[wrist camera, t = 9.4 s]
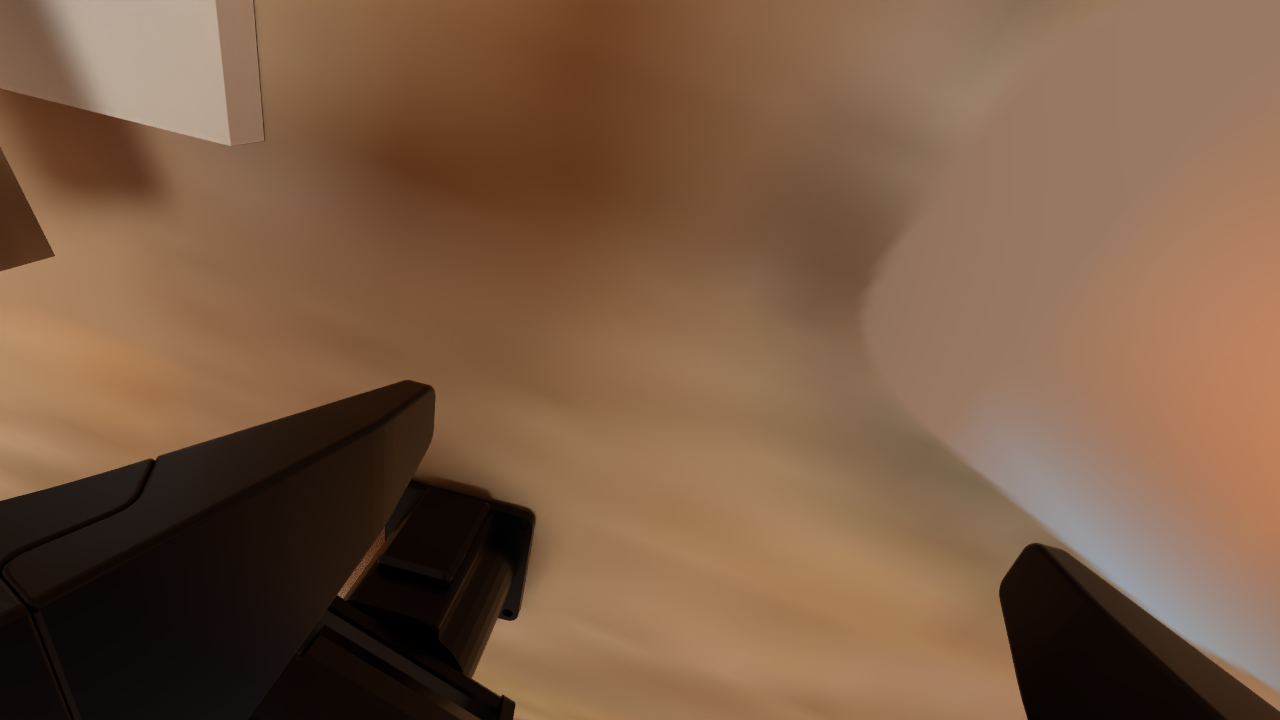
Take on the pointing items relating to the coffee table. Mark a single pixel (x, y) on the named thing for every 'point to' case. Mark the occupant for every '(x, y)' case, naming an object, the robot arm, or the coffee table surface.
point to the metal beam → (18, 224)
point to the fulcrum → (140, 62)
